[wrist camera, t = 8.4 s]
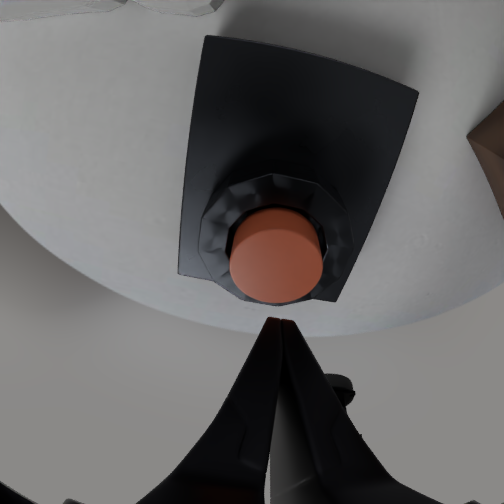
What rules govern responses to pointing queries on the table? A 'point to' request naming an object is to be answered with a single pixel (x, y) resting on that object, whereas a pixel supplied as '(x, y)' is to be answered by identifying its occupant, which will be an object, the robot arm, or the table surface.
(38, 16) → the intercom
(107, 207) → the table surface
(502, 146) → the brown box with slot
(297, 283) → the arm button
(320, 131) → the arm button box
